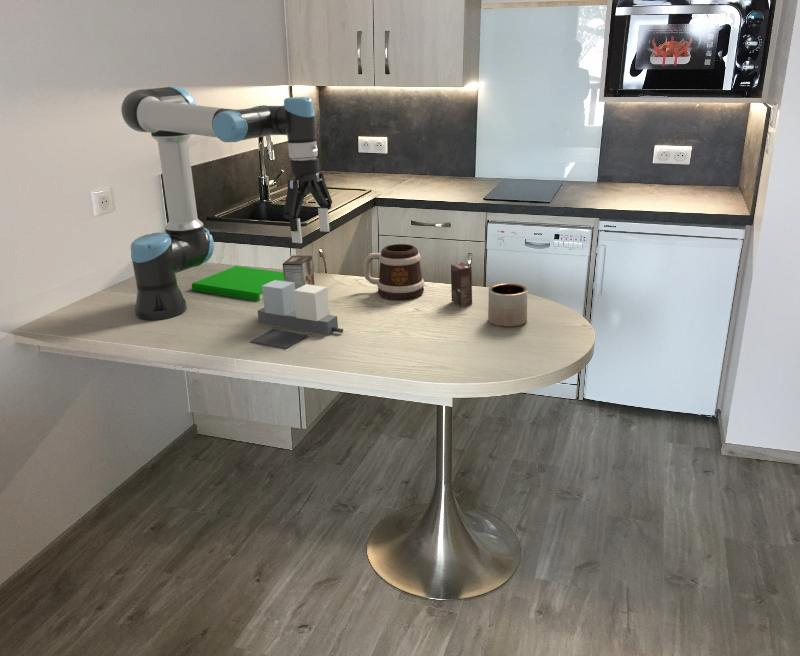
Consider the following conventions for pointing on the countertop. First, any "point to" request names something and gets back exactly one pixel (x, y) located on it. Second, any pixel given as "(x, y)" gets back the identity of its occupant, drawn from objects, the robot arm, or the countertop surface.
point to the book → (238, 282)
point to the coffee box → (299, 270)
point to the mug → (397, 272)
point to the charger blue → (279, 297)
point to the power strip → (300, 323)
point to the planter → (507, 305)
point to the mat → (279, 338)
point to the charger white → (311, 302)
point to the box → (461, 284)
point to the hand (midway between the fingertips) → (311, 236)
